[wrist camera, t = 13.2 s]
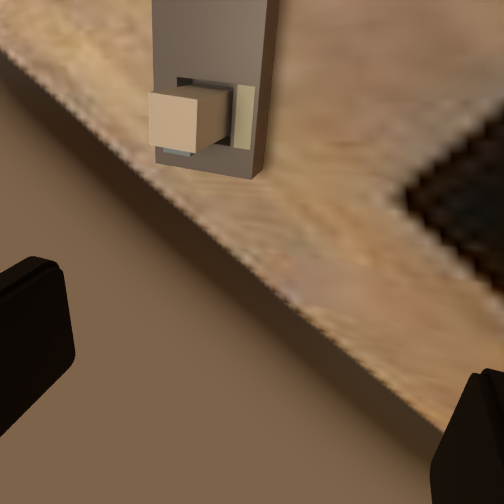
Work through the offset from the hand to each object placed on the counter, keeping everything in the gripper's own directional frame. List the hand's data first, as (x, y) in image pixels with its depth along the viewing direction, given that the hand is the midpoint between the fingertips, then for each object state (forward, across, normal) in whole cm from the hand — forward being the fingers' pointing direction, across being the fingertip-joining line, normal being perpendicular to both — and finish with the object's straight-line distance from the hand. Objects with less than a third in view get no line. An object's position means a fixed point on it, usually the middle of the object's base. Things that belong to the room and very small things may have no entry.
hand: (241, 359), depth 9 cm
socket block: (+33, +13, -6) cm, 36 cm away
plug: (+33, +13, 0) cm, 35 cm away
